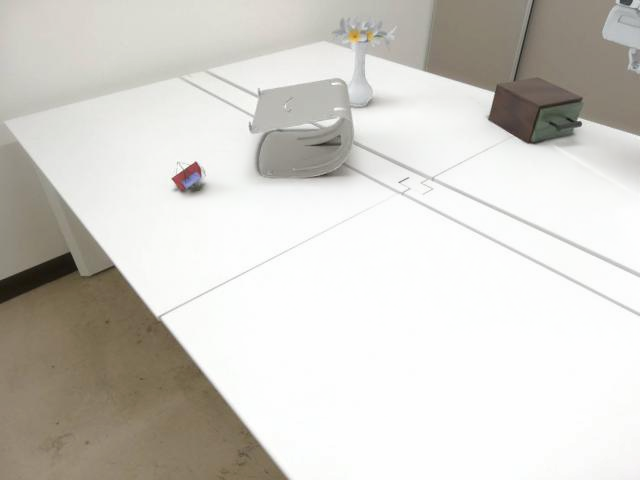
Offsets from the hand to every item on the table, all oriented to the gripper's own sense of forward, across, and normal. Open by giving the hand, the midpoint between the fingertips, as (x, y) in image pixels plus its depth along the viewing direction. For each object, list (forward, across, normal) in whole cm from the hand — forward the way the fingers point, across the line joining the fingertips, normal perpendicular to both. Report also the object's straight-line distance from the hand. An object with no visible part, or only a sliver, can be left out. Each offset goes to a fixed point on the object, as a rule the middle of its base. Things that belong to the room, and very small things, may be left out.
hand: (635, 71), depth 99 cm
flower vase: (+23, +58, +37) cm, 73 cm away
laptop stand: (+23, +33, +65) cm, 76 cm away
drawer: (+22, +20, 0) cm, 30 cm away
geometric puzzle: (+23, +27, +95) cm, 101 cm away
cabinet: (+23, +24, 0) cm, 33 cm away
